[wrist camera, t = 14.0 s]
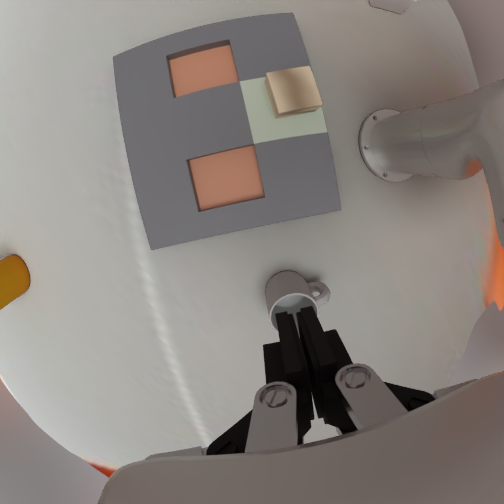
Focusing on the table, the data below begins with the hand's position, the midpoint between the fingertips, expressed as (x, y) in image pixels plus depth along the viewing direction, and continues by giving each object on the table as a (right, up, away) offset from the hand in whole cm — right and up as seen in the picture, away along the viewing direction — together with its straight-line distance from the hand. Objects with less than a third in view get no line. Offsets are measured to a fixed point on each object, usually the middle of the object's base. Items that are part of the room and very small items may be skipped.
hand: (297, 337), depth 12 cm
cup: (+5, -2, +35) cm, 35 cm away
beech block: (+3, +26, +23) cm, 35 cm away
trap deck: (-7, +24, +26) cm, 36 cm away
